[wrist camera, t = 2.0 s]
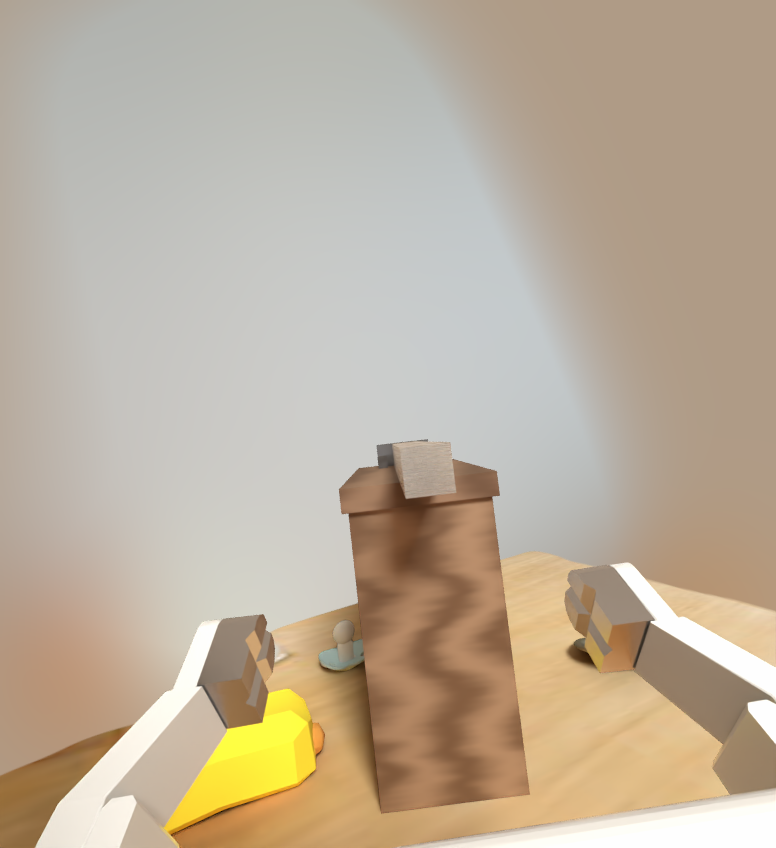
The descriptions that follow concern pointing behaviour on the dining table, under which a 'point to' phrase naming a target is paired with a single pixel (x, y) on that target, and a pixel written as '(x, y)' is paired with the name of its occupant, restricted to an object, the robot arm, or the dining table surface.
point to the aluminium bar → (424, 468)
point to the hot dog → (254, 761)
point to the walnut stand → (435, 639)
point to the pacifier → (343, 649)
